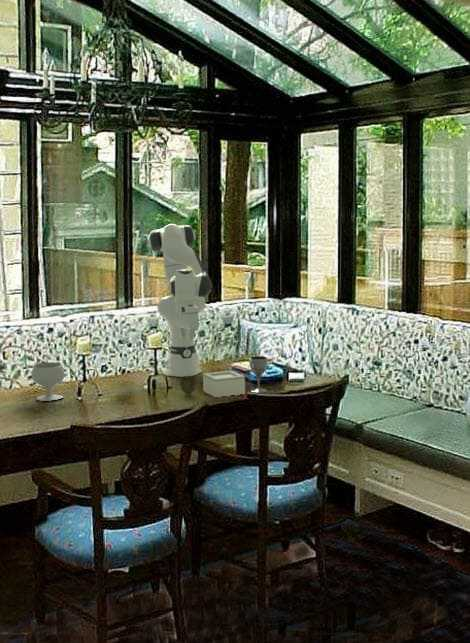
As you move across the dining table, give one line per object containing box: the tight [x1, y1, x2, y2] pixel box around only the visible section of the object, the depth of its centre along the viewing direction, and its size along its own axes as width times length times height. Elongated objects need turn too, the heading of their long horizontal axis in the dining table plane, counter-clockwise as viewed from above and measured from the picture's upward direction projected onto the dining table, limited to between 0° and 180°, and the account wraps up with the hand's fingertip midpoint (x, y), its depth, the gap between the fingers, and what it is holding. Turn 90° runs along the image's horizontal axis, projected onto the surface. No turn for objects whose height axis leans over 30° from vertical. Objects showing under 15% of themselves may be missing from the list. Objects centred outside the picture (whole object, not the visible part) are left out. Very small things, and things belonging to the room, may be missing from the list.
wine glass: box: [249, 355, 268, 394], centre depth 393 cm, size 8×8×15 cm
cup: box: [178, 375, 197, 397], centre depth 387 cm, size 8×7×8 cm
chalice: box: [31, 362, 66, 402], centre depth 384 cm, size 14×14×15 cm
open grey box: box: [202, 370, 246, 398], centre depth 391 cm, size 14×14×8 cm
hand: (187, 338), depth 384 cm, fingers open, 8 cm apart
